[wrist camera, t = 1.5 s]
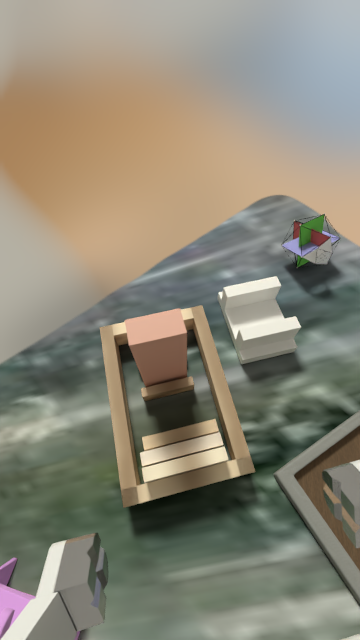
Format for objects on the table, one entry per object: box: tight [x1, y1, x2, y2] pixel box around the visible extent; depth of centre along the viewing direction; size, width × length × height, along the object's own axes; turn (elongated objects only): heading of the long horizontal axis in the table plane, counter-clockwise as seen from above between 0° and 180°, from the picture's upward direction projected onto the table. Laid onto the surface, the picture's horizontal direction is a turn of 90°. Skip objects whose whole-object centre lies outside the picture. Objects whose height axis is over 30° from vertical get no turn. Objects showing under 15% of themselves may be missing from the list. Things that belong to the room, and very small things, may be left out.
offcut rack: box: [100, 305, 255, 508], centre depth 35 cm, size 13×20×5 cm, turn 14°
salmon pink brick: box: [125, 308, 187, 387], centre depth 33 cm, size 5×2×13 cm, turn 103°
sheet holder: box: [218, 276, 301, 364], centre depth 39 cm, size 7×10×4 cm
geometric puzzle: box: [281, 214, 341, 268], centre depth 44 cm, size 7×7×8 cm
